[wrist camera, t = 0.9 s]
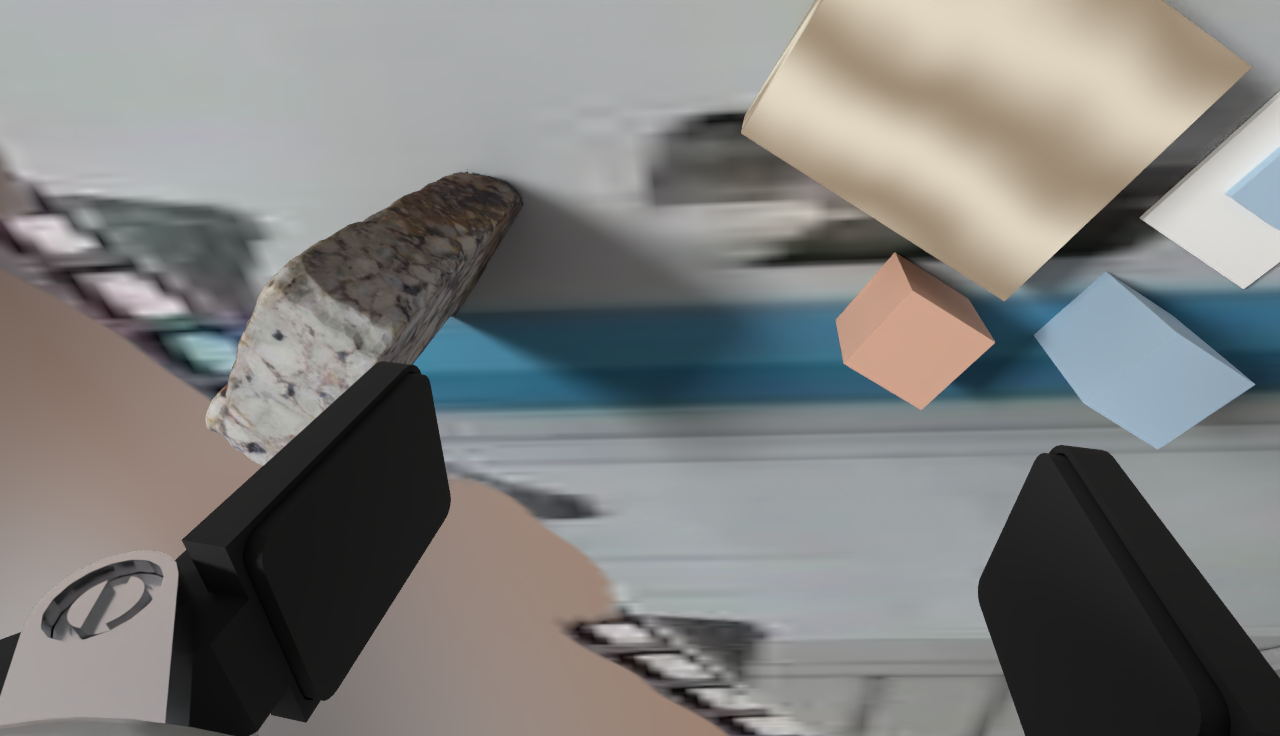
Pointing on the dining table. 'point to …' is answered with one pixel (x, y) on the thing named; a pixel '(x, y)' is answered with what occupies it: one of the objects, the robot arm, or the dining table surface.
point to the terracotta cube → (911, 332)
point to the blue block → (1138, 362)
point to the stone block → (358, 307)
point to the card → (1230, 202)
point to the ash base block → (986, 115)
